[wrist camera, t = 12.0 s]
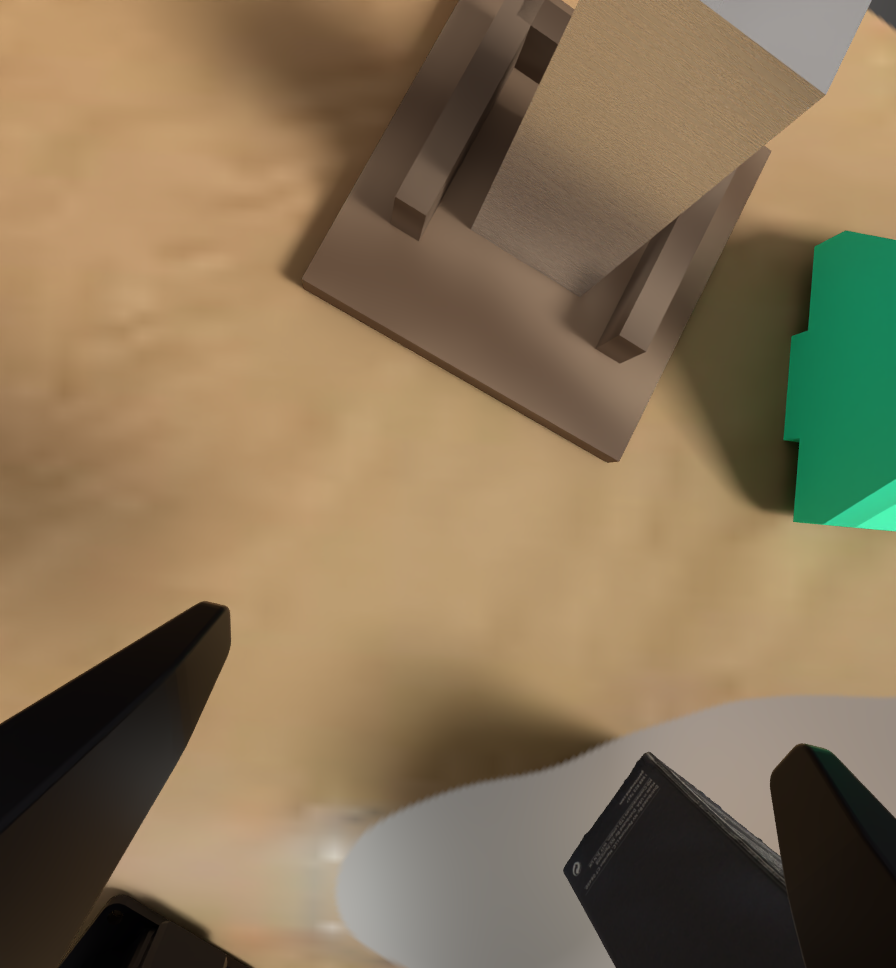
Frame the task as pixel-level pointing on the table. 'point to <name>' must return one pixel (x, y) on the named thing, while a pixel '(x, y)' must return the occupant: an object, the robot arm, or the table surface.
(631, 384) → the cradle
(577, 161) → the block
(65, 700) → the robot arm
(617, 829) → the small box
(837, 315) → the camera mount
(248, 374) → the table surface
